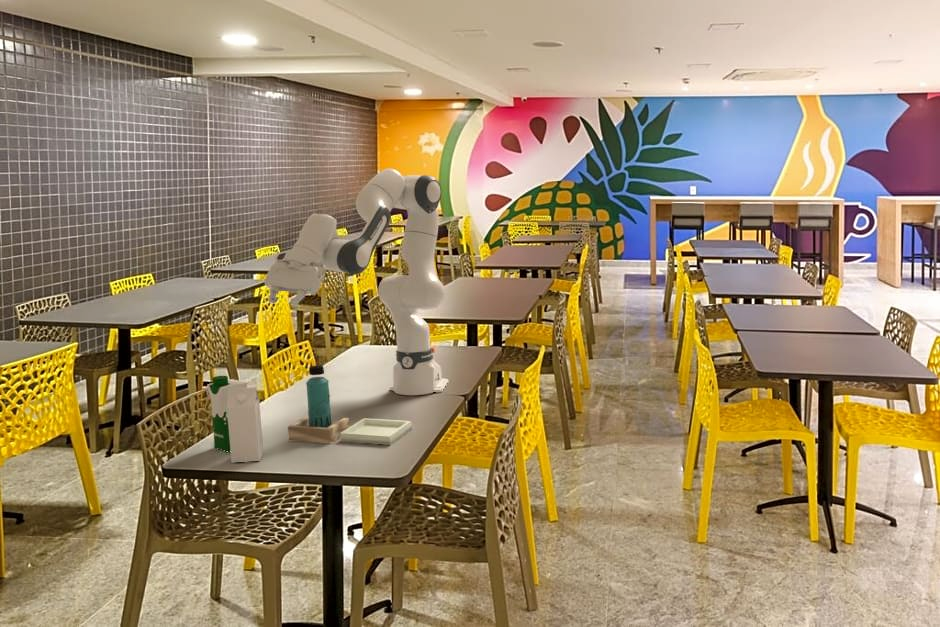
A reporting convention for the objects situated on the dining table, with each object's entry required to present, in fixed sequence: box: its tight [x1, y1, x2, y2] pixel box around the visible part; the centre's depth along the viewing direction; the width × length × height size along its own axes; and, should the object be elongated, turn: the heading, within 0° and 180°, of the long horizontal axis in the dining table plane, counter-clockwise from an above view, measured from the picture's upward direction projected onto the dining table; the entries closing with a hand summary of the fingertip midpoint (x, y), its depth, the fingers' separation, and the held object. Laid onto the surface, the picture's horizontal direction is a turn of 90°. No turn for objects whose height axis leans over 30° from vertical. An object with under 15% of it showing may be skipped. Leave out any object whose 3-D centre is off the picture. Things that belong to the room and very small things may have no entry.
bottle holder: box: [287, 415, 350, 444], centre depth 246 cm, size 12×13×4 cm
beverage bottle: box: [305, 364, 333, 428], centre depth 246 cm, size 6×7×20 cm
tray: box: [339, 417, 413, 446], centre depth 245 cm, size 15×15×2 cm
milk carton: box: [227, 386, 264, 463], centre depth 228 cm, size 7×7×19 cm
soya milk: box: [206, 375, 248, 453], centre depth 238 cm, size 9×9×20 cm
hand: (281, 303), depth 247 cm, fingers open, 8 cm apart
